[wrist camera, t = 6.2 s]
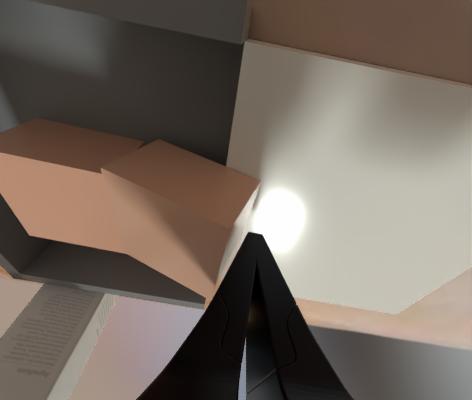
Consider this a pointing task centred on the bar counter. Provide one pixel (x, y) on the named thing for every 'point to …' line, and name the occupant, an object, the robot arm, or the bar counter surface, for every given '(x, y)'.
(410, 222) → the plate
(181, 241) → the tile front
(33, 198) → the tile rear
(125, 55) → the tray
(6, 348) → the skincare box
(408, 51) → the bar counter surface
